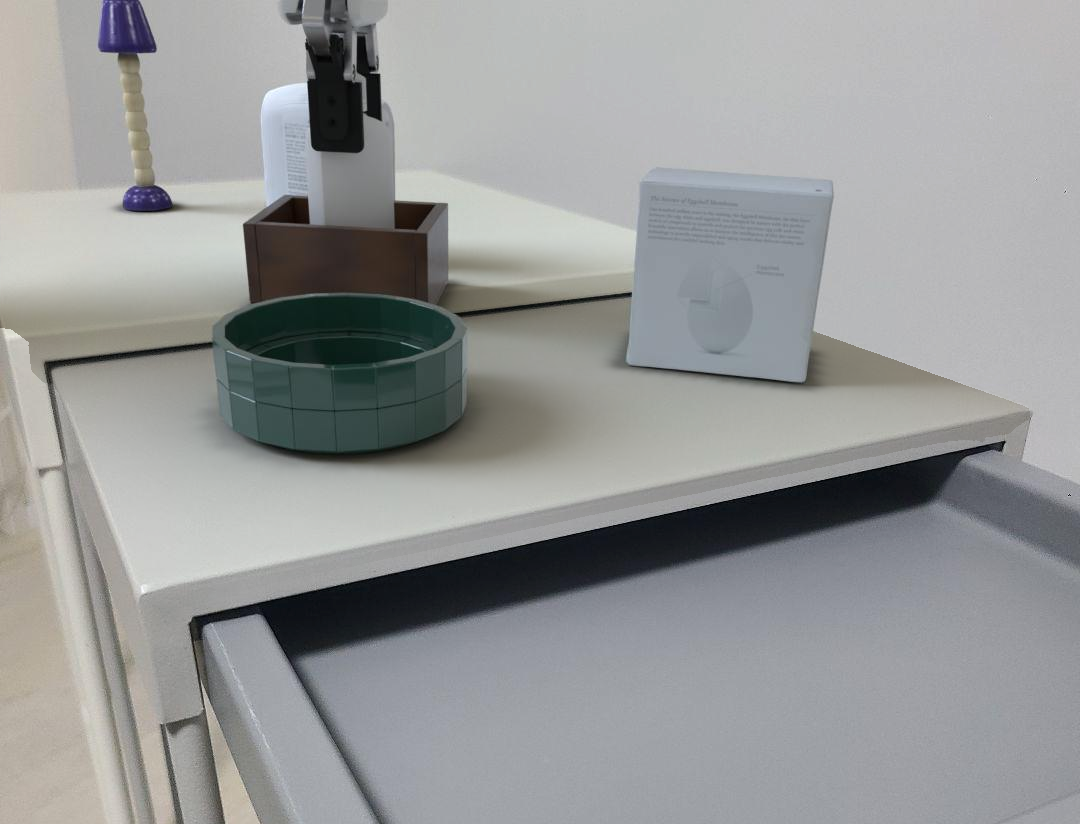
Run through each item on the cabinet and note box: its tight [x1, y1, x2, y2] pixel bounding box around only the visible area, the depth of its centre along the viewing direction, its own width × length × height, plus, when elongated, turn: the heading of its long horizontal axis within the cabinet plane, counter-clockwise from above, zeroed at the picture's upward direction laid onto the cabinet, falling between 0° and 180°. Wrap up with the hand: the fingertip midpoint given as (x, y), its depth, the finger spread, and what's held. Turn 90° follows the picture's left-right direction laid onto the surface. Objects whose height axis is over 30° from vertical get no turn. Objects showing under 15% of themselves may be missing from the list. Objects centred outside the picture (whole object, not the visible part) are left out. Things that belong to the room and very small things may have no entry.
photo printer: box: [260, 82, 396, 207], centre depth 80 cm, size 10×4×12 cm, turn 69°
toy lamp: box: [97, 0, 173, 212], centre depth 92 cm, size 5×5×17 cm
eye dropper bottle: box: [305, 52, 395, 229], centre depth 69 cm, size 4×6×12 cm
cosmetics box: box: [625, 167, 835, 383], centre depth 62 cm, size 10×6×10 cm, turn 77°
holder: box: [242, 195, 449, 306], centre depth 72 cm, size 12×10×6 cm
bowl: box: [211, 293, 468, 455], centre depth 54 cm, size 12×12×4 cm
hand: (348, 141), depth 68 cm, fingers closed on eye dropper bottle, 5 cm apart
